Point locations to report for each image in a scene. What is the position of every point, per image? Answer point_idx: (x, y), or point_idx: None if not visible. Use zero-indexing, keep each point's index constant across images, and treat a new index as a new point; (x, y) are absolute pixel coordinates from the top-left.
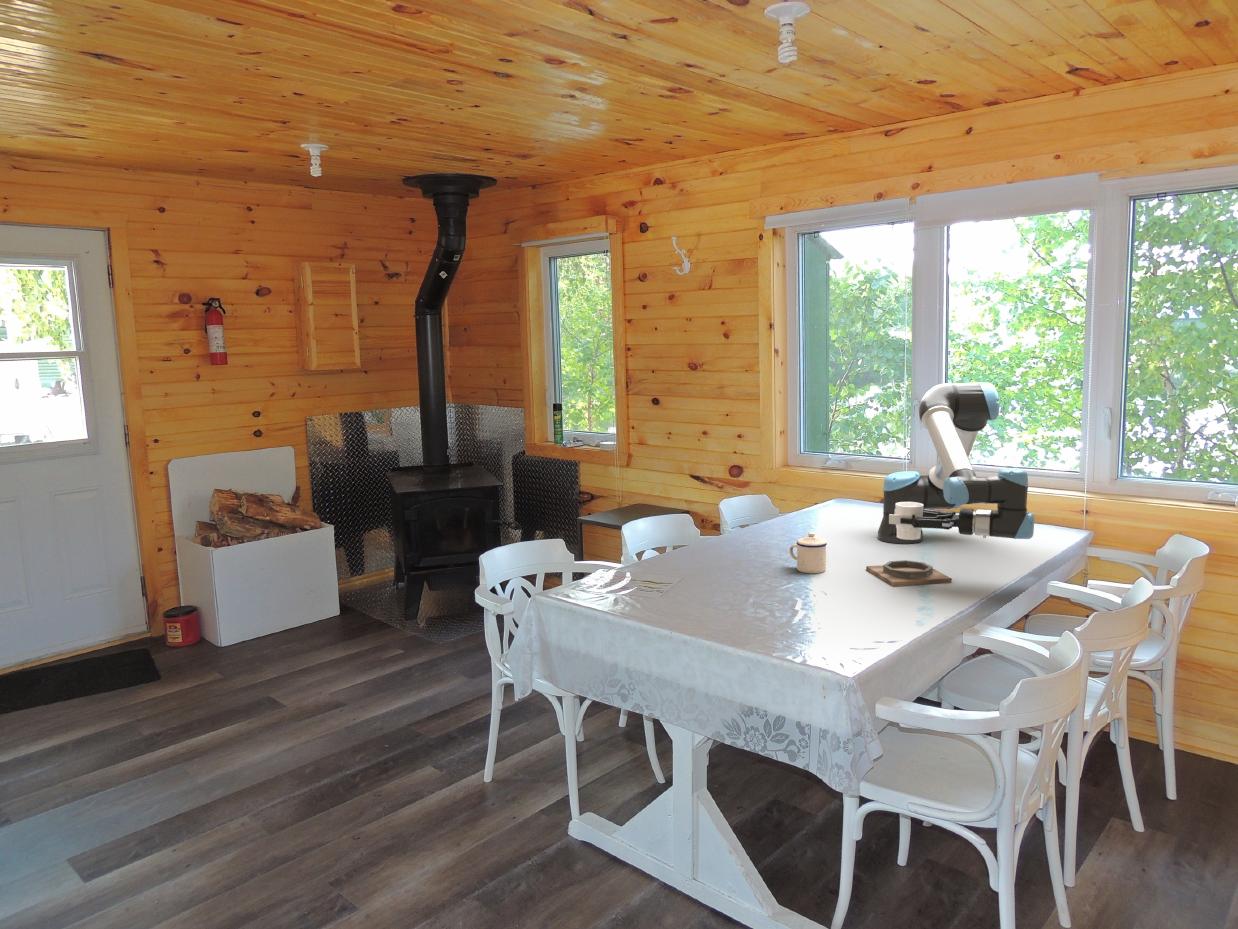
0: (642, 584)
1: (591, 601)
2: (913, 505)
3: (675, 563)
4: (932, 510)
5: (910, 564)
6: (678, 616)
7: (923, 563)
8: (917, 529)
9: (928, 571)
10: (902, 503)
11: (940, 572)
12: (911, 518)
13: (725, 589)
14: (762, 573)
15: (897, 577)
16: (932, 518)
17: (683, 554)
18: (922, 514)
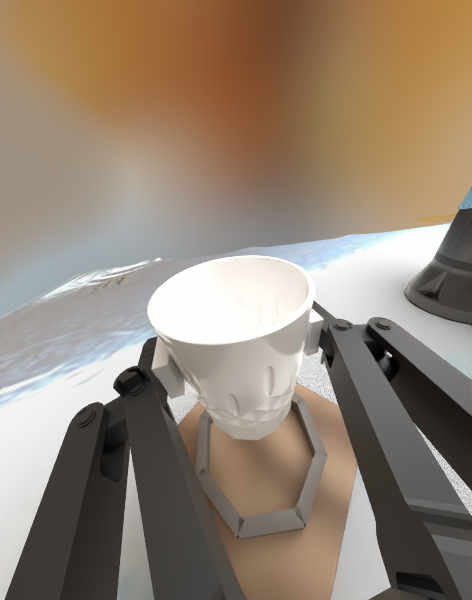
0: (113, 280)
1: (67, 285)
2: (298, 288)
3: (175, 266)
4: (446, 369)
5: (301, 418)
6: (7, 328)
7: (316, 460)
8: (220, 420)
9: (255, 536)
10: (262, 263)
11: (336, 564)
12: (158, 373)
13: (102, 309)
14: None
15: (195, 444)
16: (154, 572)
17: (200, 259)
18: (251, 384)
